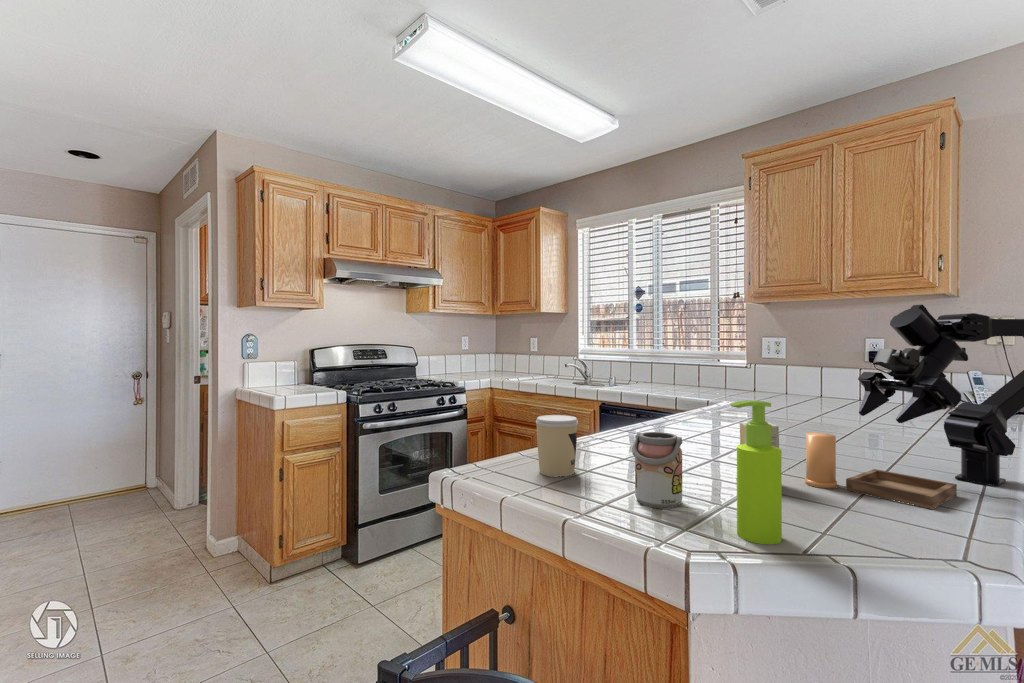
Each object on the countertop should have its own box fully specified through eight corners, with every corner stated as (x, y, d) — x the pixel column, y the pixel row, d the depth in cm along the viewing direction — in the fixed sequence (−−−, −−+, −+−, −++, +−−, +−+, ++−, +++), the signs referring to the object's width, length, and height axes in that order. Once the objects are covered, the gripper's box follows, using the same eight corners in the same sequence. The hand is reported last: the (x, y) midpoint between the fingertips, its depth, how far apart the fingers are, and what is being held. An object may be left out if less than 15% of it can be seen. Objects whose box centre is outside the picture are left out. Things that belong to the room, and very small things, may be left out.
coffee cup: (580, 478, 102) (580, 421, 102) (536, 478, 102) (536, 421, 102) (575, 466, 112) (575, 414, 112) (535, 466, 112) (534, 414, 112)
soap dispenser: (722, 529, 74) (722, 399, 74) (765, 528, 75) (765, 398, 75) (744, 545, 68) (744, 403, 68) (790, 543, 69) (790, 403, 69)
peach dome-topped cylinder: (812, 479, 101) (812, 431, 101) (842, 485, 96) (841, 435, 96) (799, 483, 98) (799, 434, 98) (829, 490, 93) (829, 438, 93)
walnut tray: (874, 479, 101) (874, 469, 101) (956, 496, 90) (956, 484, 90) (846, 490, 93) (846, 478, 93) (932, 509, 83) (932, 496, 83)
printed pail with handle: (674, 515, 80) (674, 442, 80) (625, 506, 85) (625, 437, 85) (688, 499, 88) (687, 433, 88) (642, 492, 93) (642, 429, 93)
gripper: (865, 335, 108) (818, 386, 107) (945, 333, 89) (890, 395, 88) (899, 369, 108) (853, 420, 107) (986, 375, 89) (931, 437, 89)
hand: (878, 417), depth 98 cm, fingers open, 9 cm apart
